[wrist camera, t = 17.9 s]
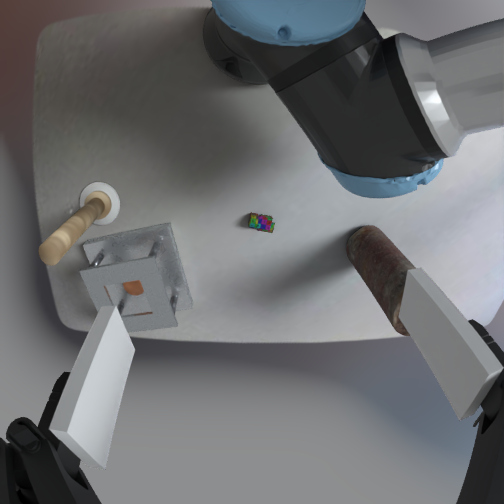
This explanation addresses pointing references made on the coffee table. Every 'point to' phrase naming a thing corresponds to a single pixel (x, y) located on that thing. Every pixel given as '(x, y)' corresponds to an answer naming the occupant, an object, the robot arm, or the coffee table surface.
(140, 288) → the breaker button
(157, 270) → the grey square frame
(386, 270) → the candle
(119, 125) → the coffee table surface
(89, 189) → the coaster
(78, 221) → the turned wooden spindle
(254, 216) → the multicolour small angular block
